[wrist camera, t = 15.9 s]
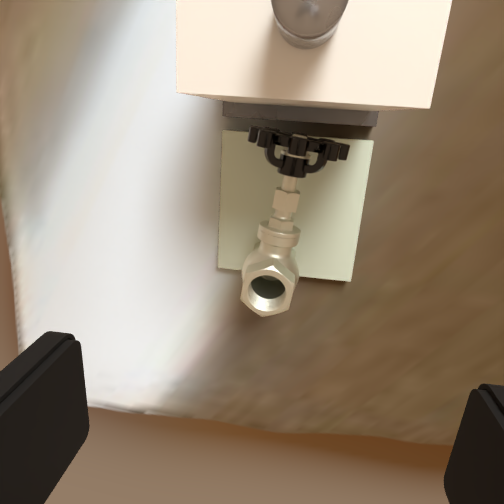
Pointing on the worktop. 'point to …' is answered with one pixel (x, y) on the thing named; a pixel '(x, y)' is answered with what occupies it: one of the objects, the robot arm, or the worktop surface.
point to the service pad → (308, 209)
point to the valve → (282, 219)
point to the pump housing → (310, 56)
